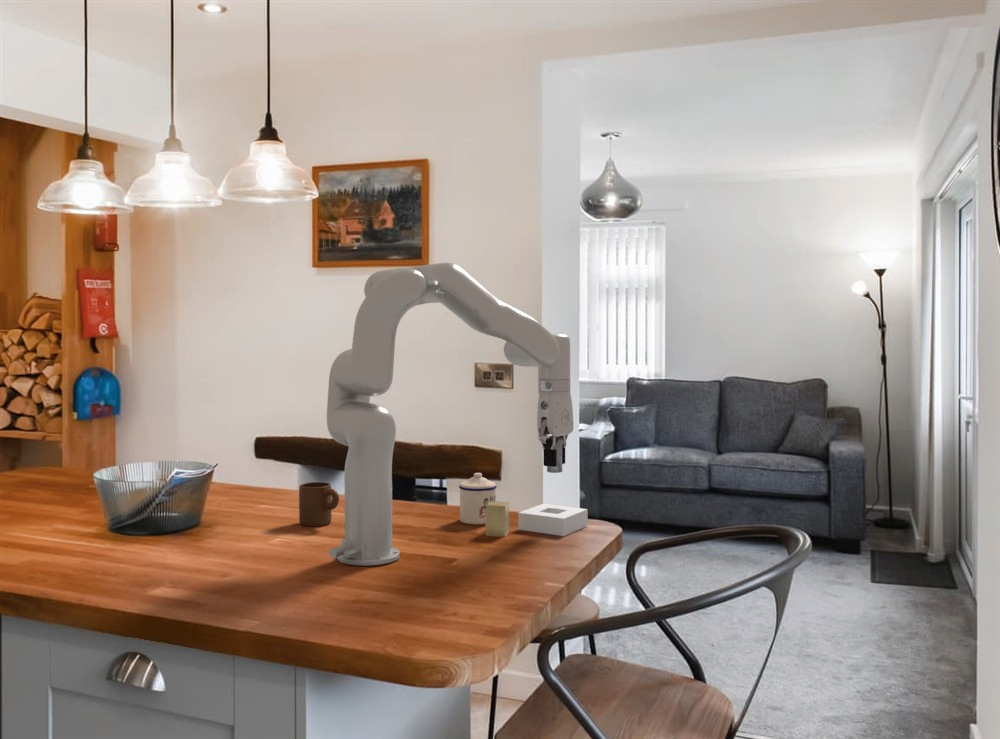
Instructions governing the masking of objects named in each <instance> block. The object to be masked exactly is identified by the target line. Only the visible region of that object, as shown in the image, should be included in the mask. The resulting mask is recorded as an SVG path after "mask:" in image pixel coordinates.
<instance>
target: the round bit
mask: <svg viewBox="0 0 1000 739" xmlns="http://www.w3.org/2000/svg"><path fill="white" fill-rule="evenodd" d="M547 439H550V441H551V438H547ZM555 449H557V466H555V467H551V466H546V472H547V473H553V474H554V473H555V474H556V473H557V474H558V473H562V472H563V464H562V437H556V441H555Z"/></svg>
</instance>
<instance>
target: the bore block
mask: <svg viewBox="0 0 1000 739" xmlns="http://www.w3.org/2000/svg"><path fill="white" fill-rule="evenodd" d="M588 513H589V511H588V509H587V508H582V507H572V506H566V505H565V506H564V505H558V504H557V505H556V504H549V503H541V504H538V505H535V506H533V507H530V508H527V509H524V510H522V511H519V512H518V514H517V516H518V520H517V521H518V525H517V527H518V530H519V531H525V532H534V533H541V534H546V535H554V536H561V537H565V536H568V535H570V534H572V533H574V532H577V531H579V530H581V529H584V528H586V527H588V516H589V515H588Z"/></svg>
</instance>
